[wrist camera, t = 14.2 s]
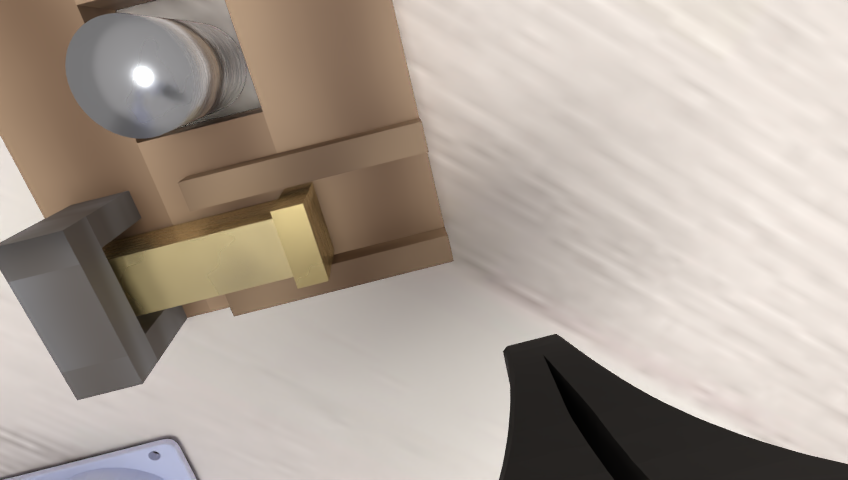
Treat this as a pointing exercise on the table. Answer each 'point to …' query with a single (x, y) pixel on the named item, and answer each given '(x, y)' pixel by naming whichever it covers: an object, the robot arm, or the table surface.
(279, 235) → the lock pin
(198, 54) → the cylinder
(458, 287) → the table surface
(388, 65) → the dock
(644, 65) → the table surface
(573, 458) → the robot arm
